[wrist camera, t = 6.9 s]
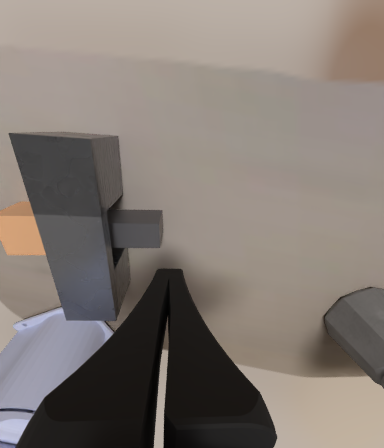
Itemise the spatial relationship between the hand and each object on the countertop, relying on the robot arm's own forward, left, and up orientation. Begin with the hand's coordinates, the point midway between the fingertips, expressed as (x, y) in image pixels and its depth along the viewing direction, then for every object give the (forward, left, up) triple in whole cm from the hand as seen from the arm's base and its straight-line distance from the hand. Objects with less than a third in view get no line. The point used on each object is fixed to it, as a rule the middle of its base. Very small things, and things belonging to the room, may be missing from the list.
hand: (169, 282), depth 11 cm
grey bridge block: (-6, +3, -8) cm, 10 cm away
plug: (-6, +3, -8) cm, 11 cm away
